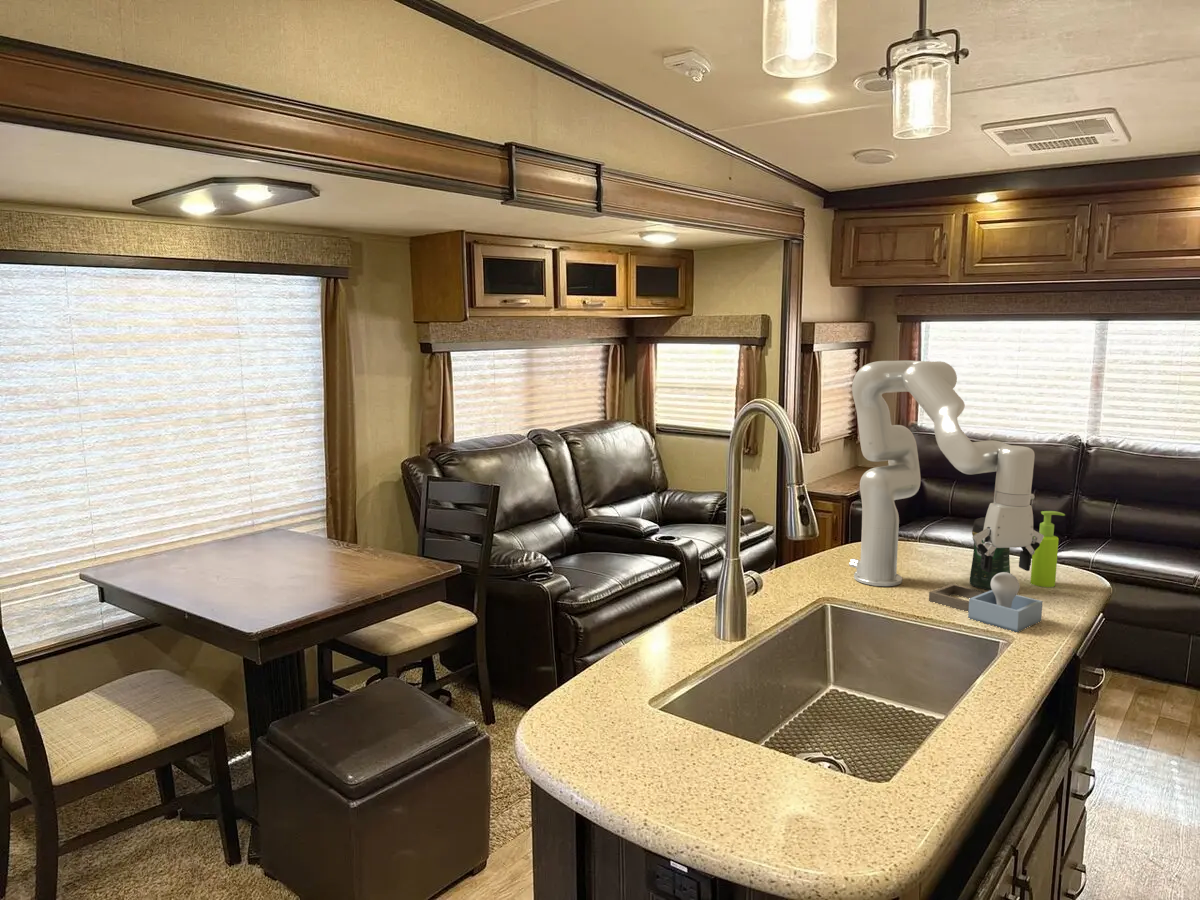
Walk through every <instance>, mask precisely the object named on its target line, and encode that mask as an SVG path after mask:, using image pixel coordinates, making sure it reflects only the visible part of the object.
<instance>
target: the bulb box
mask: <svg viewBox="0 0 1200 900" xmlns="http://www.w3.org/2000/svg"><path fill="white" fill-rule="evenodd" d="M984 592H985V593H982V594H980V595H977V596H975V597H972V598H970V599H969V598H968V601H969V611H968V612H967V613H968V614H967V615H968V616H967V619H968V618H970V619H969V620H971V619H973V620H972V621H974V620H976V621H975V622H978V621H980V622H979V623H981V622H983V623H982V624H985V623H986V624H985V625H988V624H990V625H989V626H992V625H994V626H993V627H995V626H997V627H996V628H999V627H1000V629H1002V628H1003V630H1006V629H1007V631H1009V630H1011V631H1010V632H1013V631H1014V632H1013V633H1016V632H1018V633H1020V632H1022V631H1024V630H1026V629H1028V628H1030V627H1029V626H1031V625H1033V624H1035V625H1037V624H1039V623H1041V622H1042V617H1043V616H1042V615H1043V602H1044V601H1043V600H1040V599H1035V598H1032V597H1027V596H1023V595H1019V594H1016V596H1015V597H1014V599H1013V601H1012V606H1011V608H1007V607H1004V606H1000V605H997V601H996V597H995V595H994V593H993V591H992V590H987V591H984ZM1040 621H1041V622H1040ZM1038 622H1039V623H1038ZM1036 623H1037V624H1036ZM1033 626H1034V625H1033ZM1027 627H1028V628H1027ZM1031 627H1032V626H1031ZM1025 628H1026V629H1025ZM1023 629H1024V630H1023ZM1021 630H1022V631H1021ZM1019 631H1020V632H1019Z"/></svg>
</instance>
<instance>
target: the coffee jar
mask: <svg viewBox="0 0 1200 900" xmlns="http://www.w3.org/2000/svg"><path fill="white" fill-rule="evenodd" d="M985 518H986V517H980V518H976V519H974V522H973V526H972V532H971V535H972V537H973V536H974V535H975V534H977V533H979V532H981V531H983V529H984V523H985ZM984 543H985V542H983V539H982V544H983V545H984ZM1010 549H1011V548H996V549H995V550H994V551H993V552H992V553H991V556H992V557H993V560H992V570H991V572H986V571H984V570H983V569H981V552H979V550H978V549H977V548H976V546H975V543H974V542H973V553H972V559H971V560H972V561H971V568H970V573H969V584H970V585H971V586H973V587H975V588H979V589H983V590H986V589H987V590H986V591H990V590H992V589H991V580H992V578H993V577H994V576H995V575H996V574H998V573H1001V572H1007V573H1010V574H1011V566H1010V565H1011V563H1010V562H1011V561H1010Z"/></svg>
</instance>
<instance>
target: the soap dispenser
mask: <svg viewBox="0 0 1200 900" xmlns="http://www.w3.org/2000/svg"><path fill="white" fill-rule="evenodd" d="M1040 513H1041V515H1043V521H1042V522H1040V523H1039V531H1038V532H1039V533H1040V534H1042V535H1044V538H1043V540H1042V541H1041V543H1040V546H1039V547H1038V548H1037V549H1036V550H1035V553H1034V554H1033V555H1032V557H1031V566H1030V570H1031V571H1030V582H1029V583H1030V584H1031V585H1032V586H1037V587H1040V586H1041V588H1054V587H1055V586H1056V578H1057V577H1056V576H1057V565H1058V553H1059V551H1058V550H1059V537H1058V536H1056V535H1054V532H1055V524H1054V523H1053V522H1052V516H1062V517H1065V516H1066V514H1065V513H1064V512H1060V511H1055V510H1044V511H1043V510H1042V511H1040Z"/></svg>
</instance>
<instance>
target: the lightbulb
mask: <svg viewBox="0 0 1200 900" xmlns="http://www.w3.org/2000/svg"><path fill="white" fill-rule="evenodd" d="M991 589H992V591H993V593H994V595H995V597H996V601H997V605H1000V606H1004V607H1007V608H1011V606H1012V601H1013V599H1014V597H1015V596H1016V595H1018V593H1019V591H1020V582H1019V580H1018V578H1017V577H1016V576H1015V575H1014V574H1013V573H1011V572H1010V573H1007V572H1001V573H998V574H996V575H995V576H994V577H993V578H992V580H991Z"/></svg>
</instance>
